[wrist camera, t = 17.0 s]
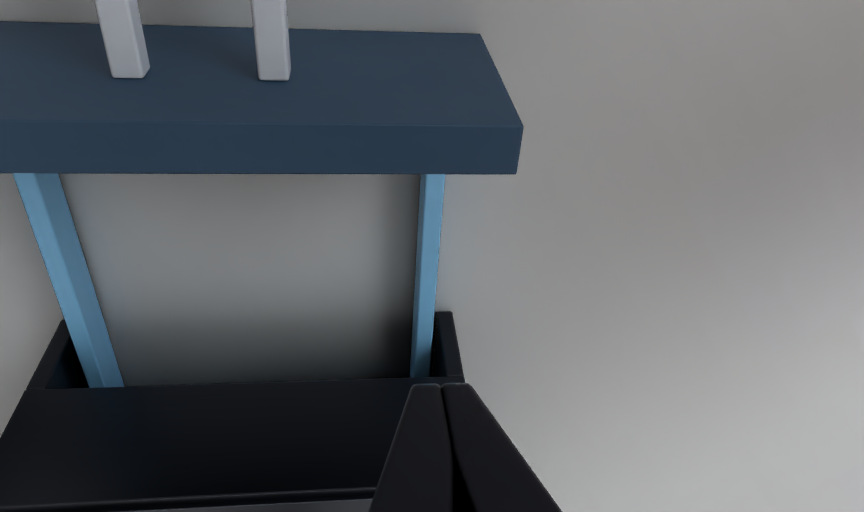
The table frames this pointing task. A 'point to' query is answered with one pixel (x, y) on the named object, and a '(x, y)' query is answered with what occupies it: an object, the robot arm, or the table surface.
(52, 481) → the black drawer housing
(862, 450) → the table surface
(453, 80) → the pull-out drawer
